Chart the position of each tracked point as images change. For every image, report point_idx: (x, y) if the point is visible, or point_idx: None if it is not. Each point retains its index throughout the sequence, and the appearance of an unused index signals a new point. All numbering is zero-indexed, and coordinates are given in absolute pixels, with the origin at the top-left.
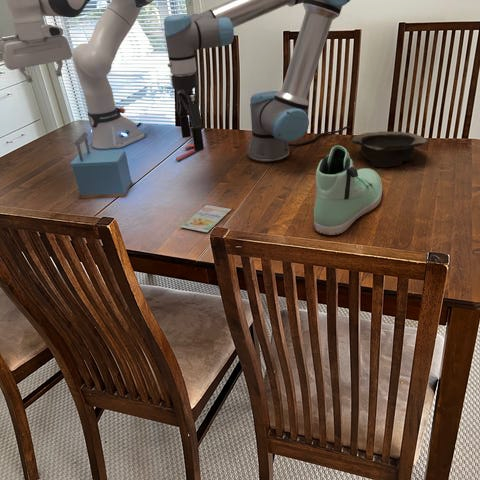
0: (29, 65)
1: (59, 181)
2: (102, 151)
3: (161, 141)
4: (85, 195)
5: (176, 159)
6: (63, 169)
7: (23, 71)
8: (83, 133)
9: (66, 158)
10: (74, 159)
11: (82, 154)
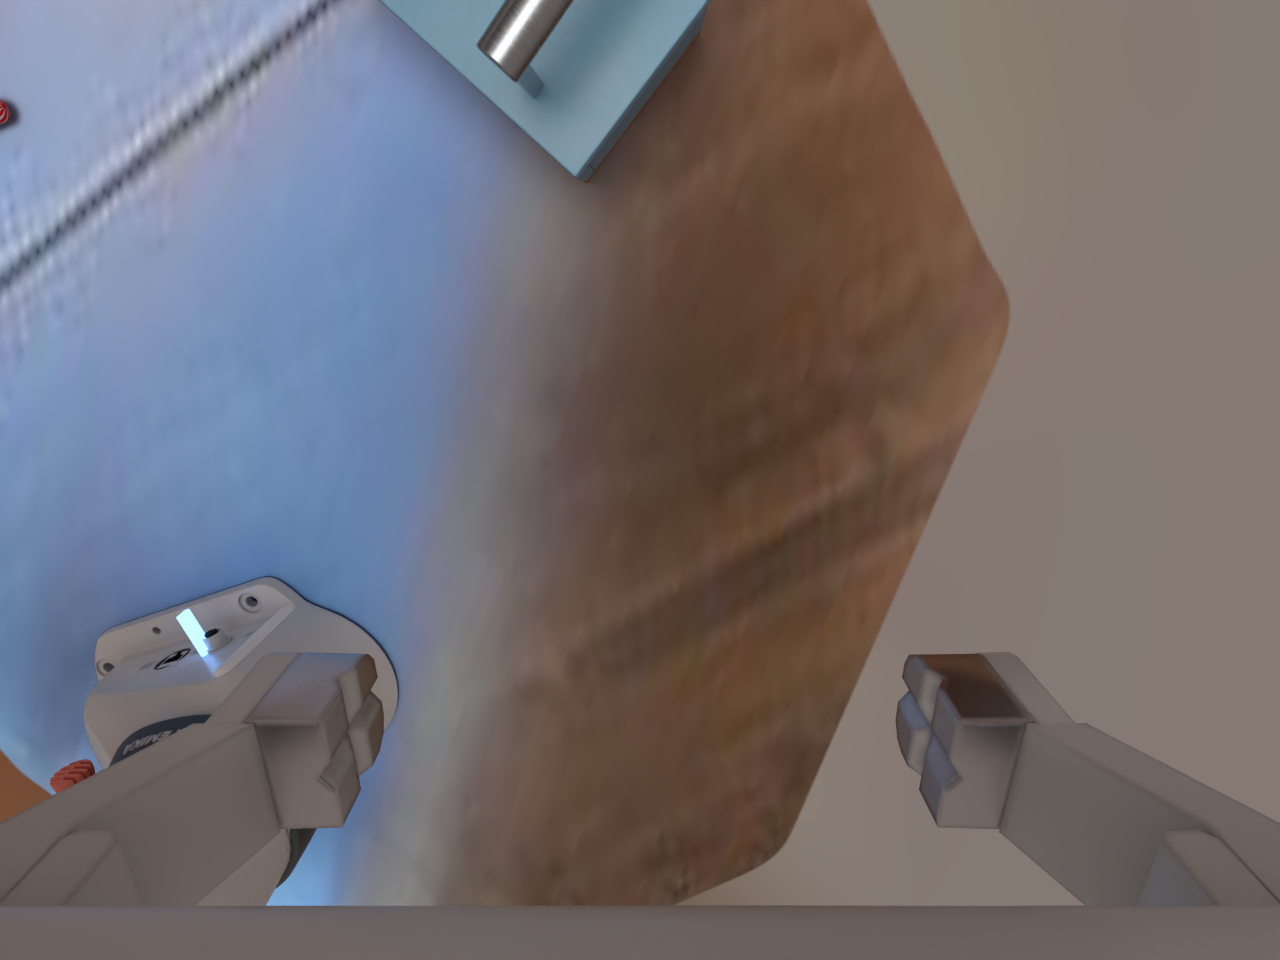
0: (1141, 930)
1: (698, 378)
2: (431, 31)
3: (31, 504)
4: None
5: (3, 105)
6: (623, 521)
7: (1232, 830)
8: (509, 32)
9: (559, 648)
10: (671, 37)
11: (582, 104)
